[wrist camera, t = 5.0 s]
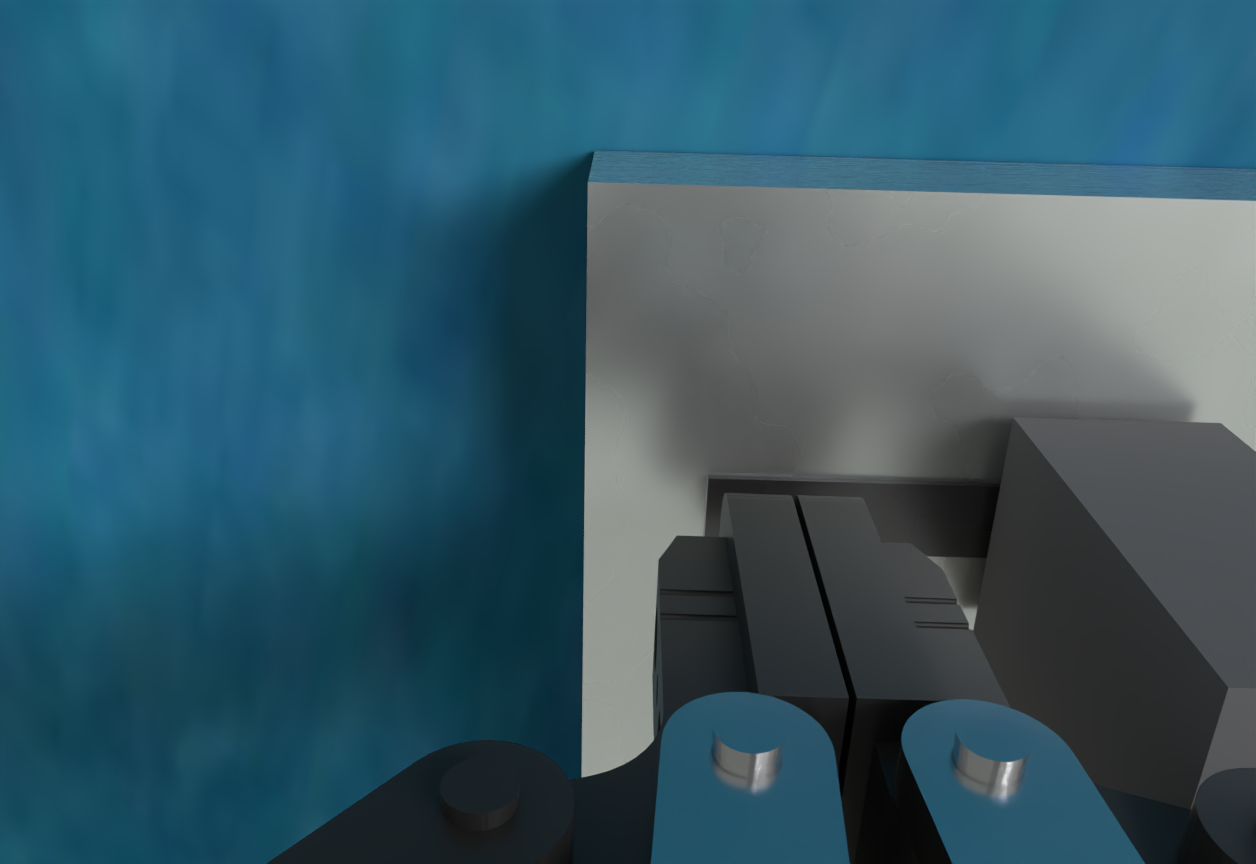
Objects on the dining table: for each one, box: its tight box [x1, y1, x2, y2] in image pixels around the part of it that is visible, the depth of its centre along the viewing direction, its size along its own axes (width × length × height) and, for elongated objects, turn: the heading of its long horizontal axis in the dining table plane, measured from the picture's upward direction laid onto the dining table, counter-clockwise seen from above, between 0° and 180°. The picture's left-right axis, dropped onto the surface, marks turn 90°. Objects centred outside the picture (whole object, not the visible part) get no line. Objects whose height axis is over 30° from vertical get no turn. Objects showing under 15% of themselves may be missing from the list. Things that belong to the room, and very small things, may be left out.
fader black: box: [973, 417, 1256, 809], centre depth 11 cm, size 3×2×5 cm
